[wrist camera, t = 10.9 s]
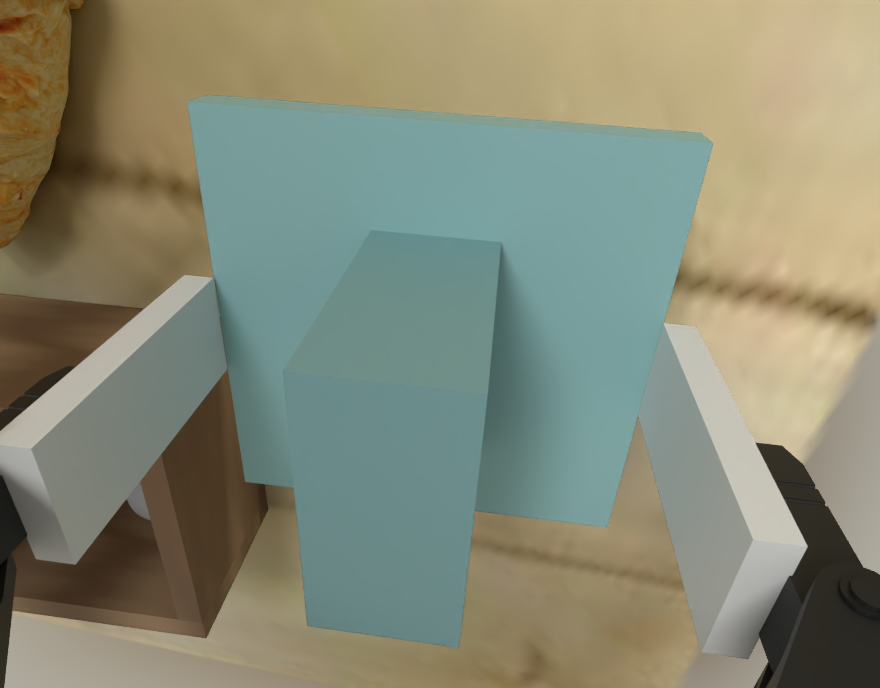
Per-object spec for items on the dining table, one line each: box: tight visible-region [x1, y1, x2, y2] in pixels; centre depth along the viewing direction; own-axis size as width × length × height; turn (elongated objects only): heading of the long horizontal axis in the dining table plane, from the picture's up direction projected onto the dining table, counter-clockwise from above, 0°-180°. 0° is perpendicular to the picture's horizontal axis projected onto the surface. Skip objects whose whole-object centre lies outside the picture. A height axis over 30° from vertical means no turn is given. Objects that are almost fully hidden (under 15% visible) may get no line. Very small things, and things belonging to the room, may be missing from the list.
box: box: [0, 294, 268, 638], centre depth 25 cm, size 11×11×7 cm
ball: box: [127, 482, 150, 520], centre depth 27 cm, size 3×3×3 cm
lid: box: [187, 95, 713, 648], centre depth 14 cm, size 11×11×9 cm
